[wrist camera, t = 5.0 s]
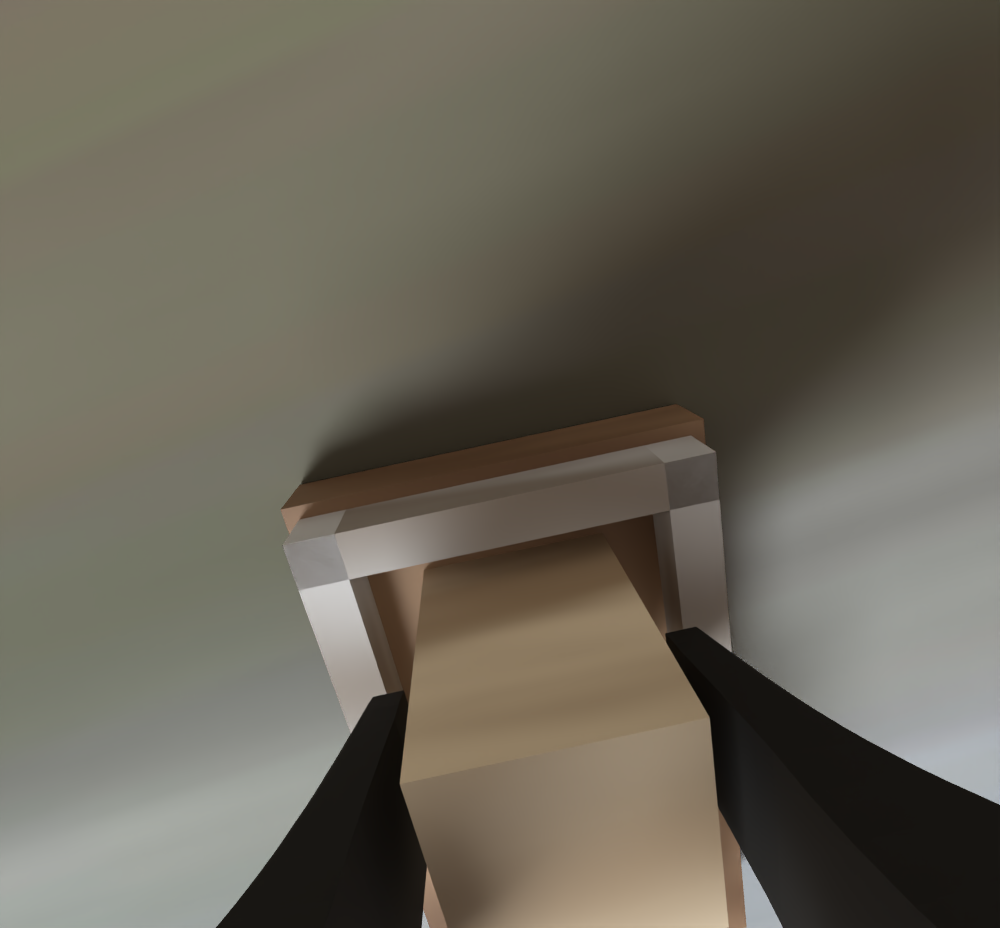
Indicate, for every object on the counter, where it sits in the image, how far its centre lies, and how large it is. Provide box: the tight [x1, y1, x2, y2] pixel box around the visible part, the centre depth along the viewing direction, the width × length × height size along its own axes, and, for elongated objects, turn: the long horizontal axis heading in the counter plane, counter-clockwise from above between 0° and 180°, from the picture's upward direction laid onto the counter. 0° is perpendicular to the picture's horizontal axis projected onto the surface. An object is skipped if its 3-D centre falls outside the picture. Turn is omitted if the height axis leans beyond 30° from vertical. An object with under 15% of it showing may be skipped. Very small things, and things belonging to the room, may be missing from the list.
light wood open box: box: [281, 404, 746, 928], centre depth 12 cm, size 16×9×7 cm, turn 11°
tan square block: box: [400, 533, 729, 928], centre depth 10 cm, size 5×4×6 cm
